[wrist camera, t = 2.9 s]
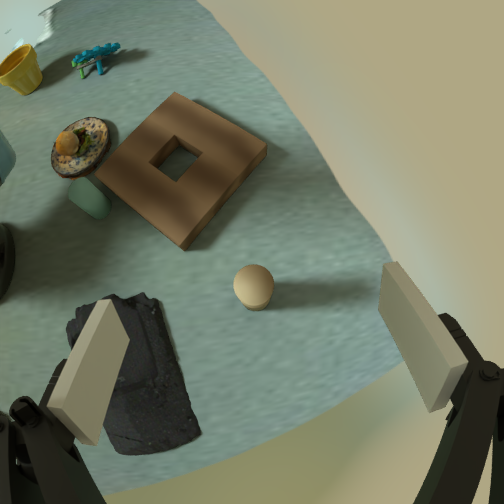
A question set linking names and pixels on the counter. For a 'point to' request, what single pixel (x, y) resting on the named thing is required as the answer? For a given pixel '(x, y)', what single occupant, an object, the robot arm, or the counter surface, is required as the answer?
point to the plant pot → (21, 70)
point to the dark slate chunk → (144, 382)
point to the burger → (80, 148)
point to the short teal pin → (89, 198)
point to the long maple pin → (254, 287)
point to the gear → (95, 54)
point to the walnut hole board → (195, 177)
